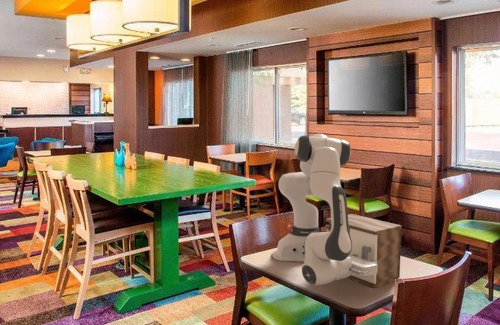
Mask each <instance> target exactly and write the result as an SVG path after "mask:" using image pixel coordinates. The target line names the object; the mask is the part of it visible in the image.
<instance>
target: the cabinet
mask: <svg viewBox="0 0 500 325" xmlns="http://www.w3.org/2000/svg"><path fill="white" fill-rule="evenodd" d="M325 222H326V223H328V225H329V232H330V230H331V228H332V224H331V217H328V218H325ZM348 223H349V233H350V228H352V229H356V230H359V231H363V232H367V233H370V234H374V235H378V237H377V265H378V271H377V274H376V284H373V283H370V282H368V281H365V280H363V279H360V278H357V277H355V276H352V275H350V276H349V277H347V278H346V279H349V280H352V281H354V282H357V283H359V284H363V285H365V286H367V287H369V288H373V289H375V288H377V287H378V288H379V287H381V286H383V285H387V284H389V283H393V282H395V279H398V278H401V277H400V276H401V274H400V273H401V268H400V267H401V250H402V248H401V245H402V225H400V224H396V223H391V222H388V221H383V220H380V219H375V218H372V217H367V216H362V215H358V214H354V213H349V214H348Z"/></svg>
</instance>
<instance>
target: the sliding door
mask: <svg viewBox="0 0 500 325" xmlns="http://www.w3.org/2000/svg"><path fill="white" fill-rule="evenodd" d="M350 237H351V241H352V250H351V253H350V254H357V255H358V258H361V259H364V260H367V261H370V262H371V260H376V261H377V237H378V235H374V234H370V233H367V232H363V231H359V230H356V229H352V228H350ZM351 275H352V276H355V277H357V278H360V279H363V280H365V281H368V282H370V283H373V284H376V274H374V275H370V276H360V275H357V274H354V273H351Z"/></svg>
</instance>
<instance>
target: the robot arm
mask: <svg viewBox="0 0 500 325" xmlns="http://www.w3.org/2000/svg"><path fill="white" fill-rule="evenodd" d="M294 153H295V158H296V159H297V160H298V161H299V168H300V170H301V172H300V171H299V172H288V173H284V174H282V175H281V177H280V178H279V179H278V180H279V181H278V190H279V191H280V193H281V194H282V195H283V196H284V197H286V199H287V200H289V202H290V205H291V207H292V210H293V225H292V224H288V225H287V230H289V233H288V234H286V235H285V236H284V237H283V238H281V239H279V241H278V244H277V248H276V249H274V250H273V251H272V254H271V255H272V257H273V259H275V260H276V261H280V262H303V264H302V267H301V275H302V277H303V278H304V280H305V281H306V283H308V284H310V285H312V286H323V285H325V284H330V283H332V282H334V281H339V280H342V279H348V278H347V277H349V276H350V275H351V273H354V274H357V275H360V276H370V275H374V274H377V271H378V265H377V261H376V260H371V262H370V261H367V260H364V259H361V258H358V255H357V254H350V253H351V250H352V241H351V237H350V233H349V223H348V213H349V212H348V202H347V200H348V199H347V195H346V192H345V189H344V188H343V187H342V185H341V167H343V166H345V165H347V164H348V163H349V160H350V159H351V155H352V149H351V145H350V143H349V142H348V141H347V140H345V139H341V138H340V139H338V138H334V137H328V136H327V135H326V134H323V133H315V134H313V135H300V136H299V137H298V138H297V141H296V142H295V145H294ZM307 197H317V198H318V199H320V200H323V201H325V202H326V203H327V204H328V205H329V207H330V218H331V224H332V228H331V230H330V232H326V231H320V227H319V210H318V208H317V206H315V205H314V204H312V203H310V202H307Z"/></svg>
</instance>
